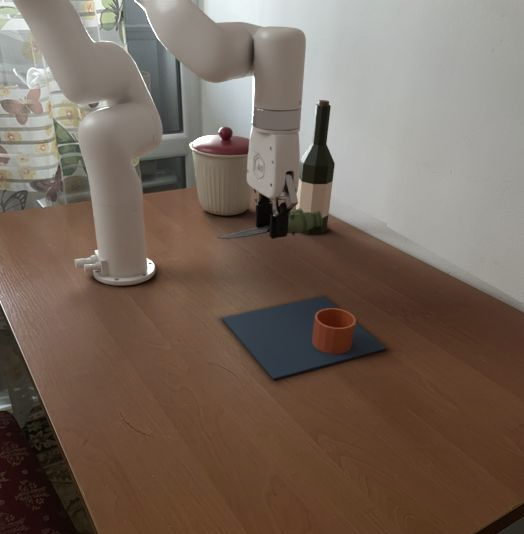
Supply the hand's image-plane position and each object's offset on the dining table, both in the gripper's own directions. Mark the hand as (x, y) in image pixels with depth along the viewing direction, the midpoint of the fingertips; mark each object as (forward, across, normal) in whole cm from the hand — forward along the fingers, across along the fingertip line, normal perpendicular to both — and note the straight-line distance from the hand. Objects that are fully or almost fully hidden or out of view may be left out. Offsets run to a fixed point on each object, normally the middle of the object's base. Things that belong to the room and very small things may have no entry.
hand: (271, 230), depth 95 cm
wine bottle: (+16, -33, +30) cm, 47 cm away
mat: (+16, +10, +2) cm, 19 cm away
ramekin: (+16, +15, +5) cm, 22 cm away
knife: (+1, -1, 0) cm, 2 cm away
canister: (+15, -53, +15) cm, 57 cm away
